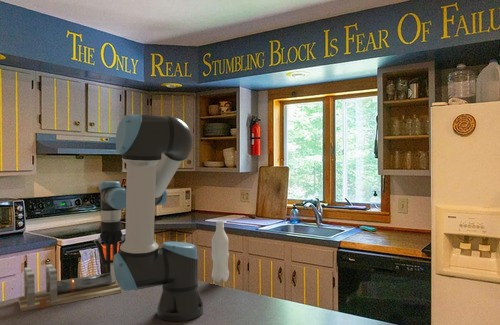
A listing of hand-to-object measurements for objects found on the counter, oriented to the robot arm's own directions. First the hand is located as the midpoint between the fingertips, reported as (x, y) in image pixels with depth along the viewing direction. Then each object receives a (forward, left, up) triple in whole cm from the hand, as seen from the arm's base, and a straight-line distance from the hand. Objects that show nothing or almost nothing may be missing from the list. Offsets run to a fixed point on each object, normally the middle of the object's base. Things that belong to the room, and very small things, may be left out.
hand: (111, 280), depth 158 cm
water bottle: (-16, -40, -4) cm, 43 cm away
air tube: (0, +11, -2) cm, 11 cm away
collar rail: (0, +15, -4) cm, 15 cm away
